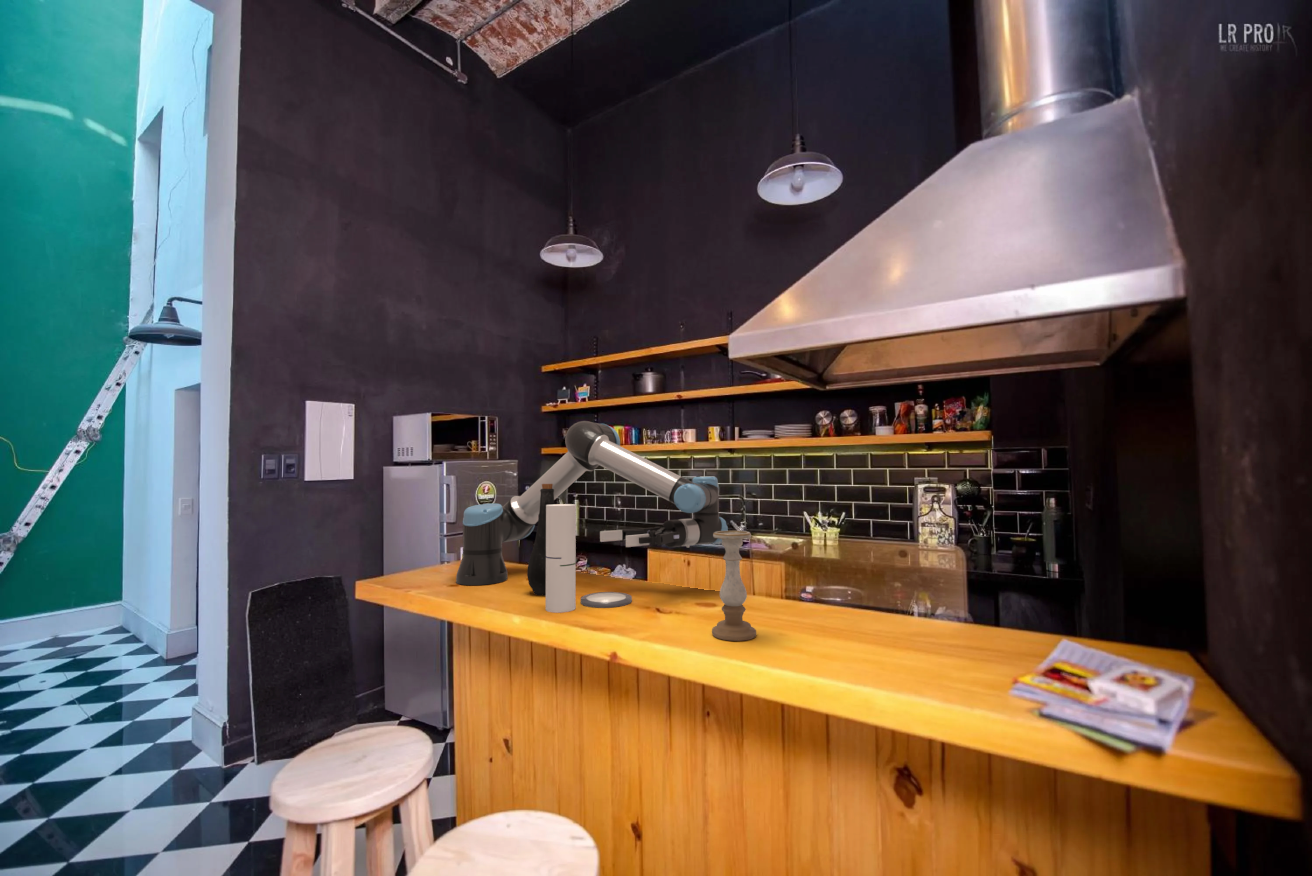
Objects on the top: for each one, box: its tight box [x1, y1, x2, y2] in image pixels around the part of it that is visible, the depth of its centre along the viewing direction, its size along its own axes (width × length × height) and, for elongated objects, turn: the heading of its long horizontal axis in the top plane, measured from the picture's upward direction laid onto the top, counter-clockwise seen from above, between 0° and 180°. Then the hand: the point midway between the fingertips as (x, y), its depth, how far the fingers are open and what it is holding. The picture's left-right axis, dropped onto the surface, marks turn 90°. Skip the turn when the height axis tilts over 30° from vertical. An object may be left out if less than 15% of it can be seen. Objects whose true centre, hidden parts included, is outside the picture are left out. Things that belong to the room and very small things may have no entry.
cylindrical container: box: [545, 503, 577, 614], centre depth 128 cm, size 7×7×25 cm
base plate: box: [580, 591, 633, 609], centre depth 134 cm, size 13×13×1 cm
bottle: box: [526, 484, 555, 597], centre depth 146 cm, size 11×11×30 cm
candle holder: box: [711, 530, 757, 642], centre depth 106 cm, size 9×9×20 cm
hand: (612, 538), depth 135 cm, fingers open, 13 cm apart
